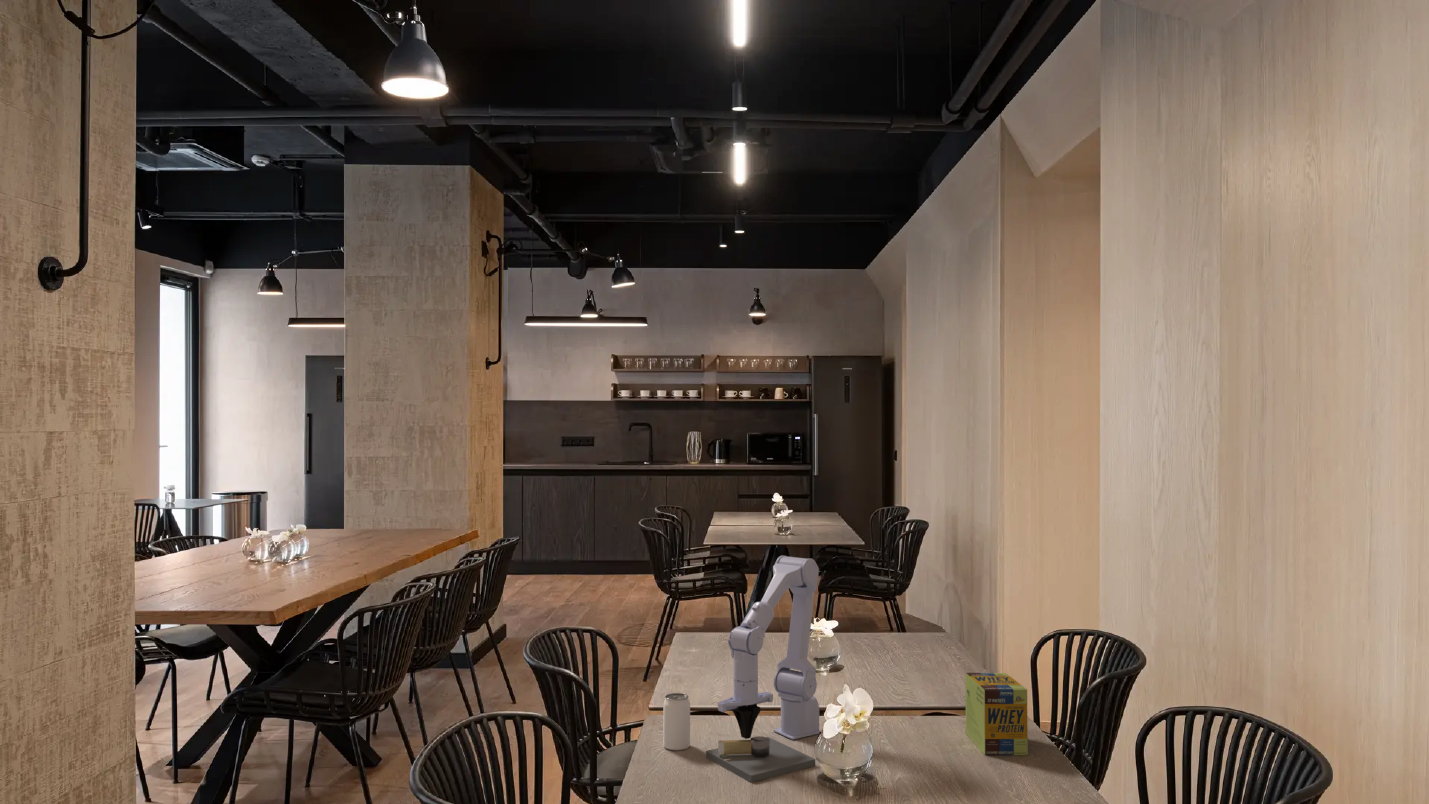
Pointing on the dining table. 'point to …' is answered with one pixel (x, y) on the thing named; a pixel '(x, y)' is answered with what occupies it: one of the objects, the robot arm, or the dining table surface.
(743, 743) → the brown bar with cylinder
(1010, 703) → the protein box
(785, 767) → the dial board
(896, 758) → the dining table surface
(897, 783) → the dining table surface
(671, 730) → the can
